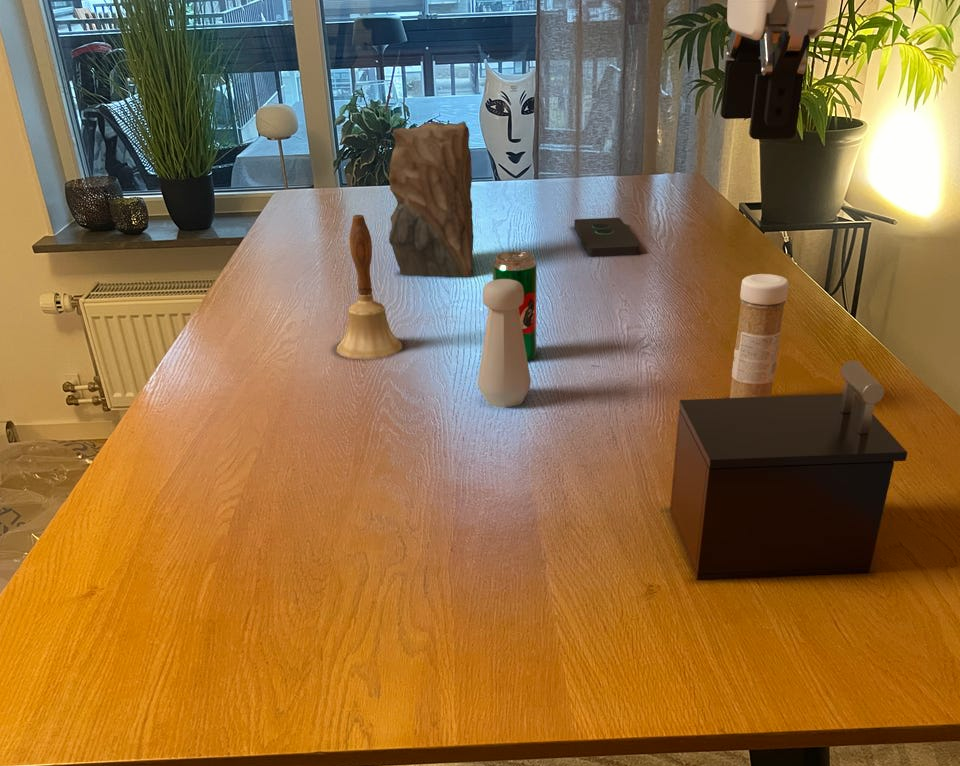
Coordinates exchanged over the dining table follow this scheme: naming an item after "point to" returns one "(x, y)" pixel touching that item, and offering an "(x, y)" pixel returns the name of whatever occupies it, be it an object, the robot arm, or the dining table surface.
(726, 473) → the box
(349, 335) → the hand bell
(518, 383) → the salt shaker
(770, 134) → the robot arm
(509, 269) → the soda can
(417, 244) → the owl
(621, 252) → the smart home device
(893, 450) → the lid
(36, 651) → the dining table surface
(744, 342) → the sprinkles bottle
